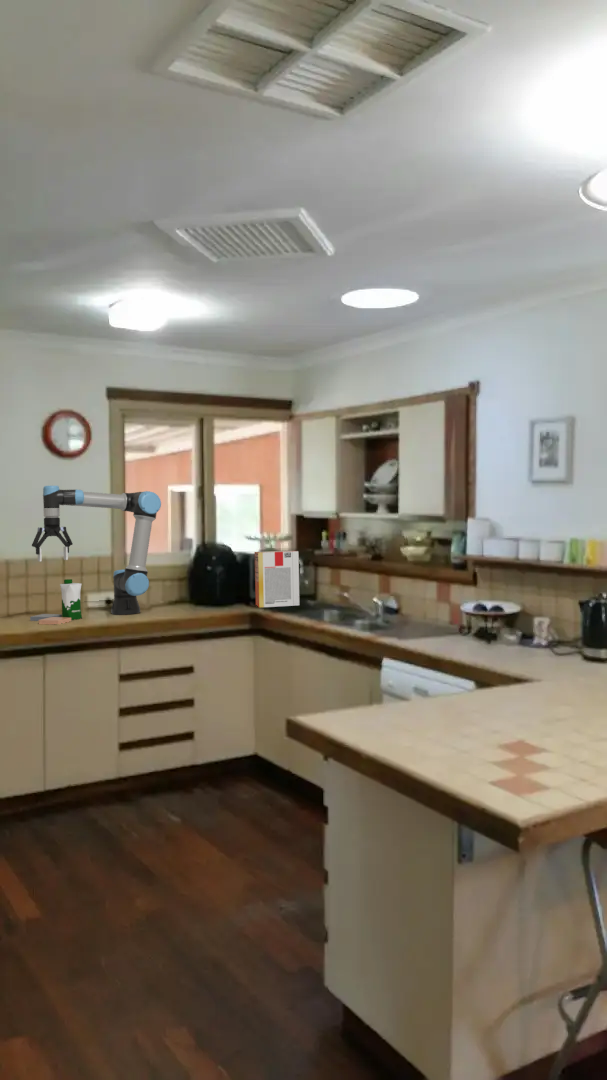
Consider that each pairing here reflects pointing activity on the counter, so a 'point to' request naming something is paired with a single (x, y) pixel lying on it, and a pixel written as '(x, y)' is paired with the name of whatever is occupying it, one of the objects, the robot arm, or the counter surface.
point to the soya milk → (71, 599)
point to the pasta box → (277, 578)
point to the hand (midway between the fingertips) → (52, 560)
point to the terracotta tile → (55, 620)
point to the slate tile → (44, 616)
